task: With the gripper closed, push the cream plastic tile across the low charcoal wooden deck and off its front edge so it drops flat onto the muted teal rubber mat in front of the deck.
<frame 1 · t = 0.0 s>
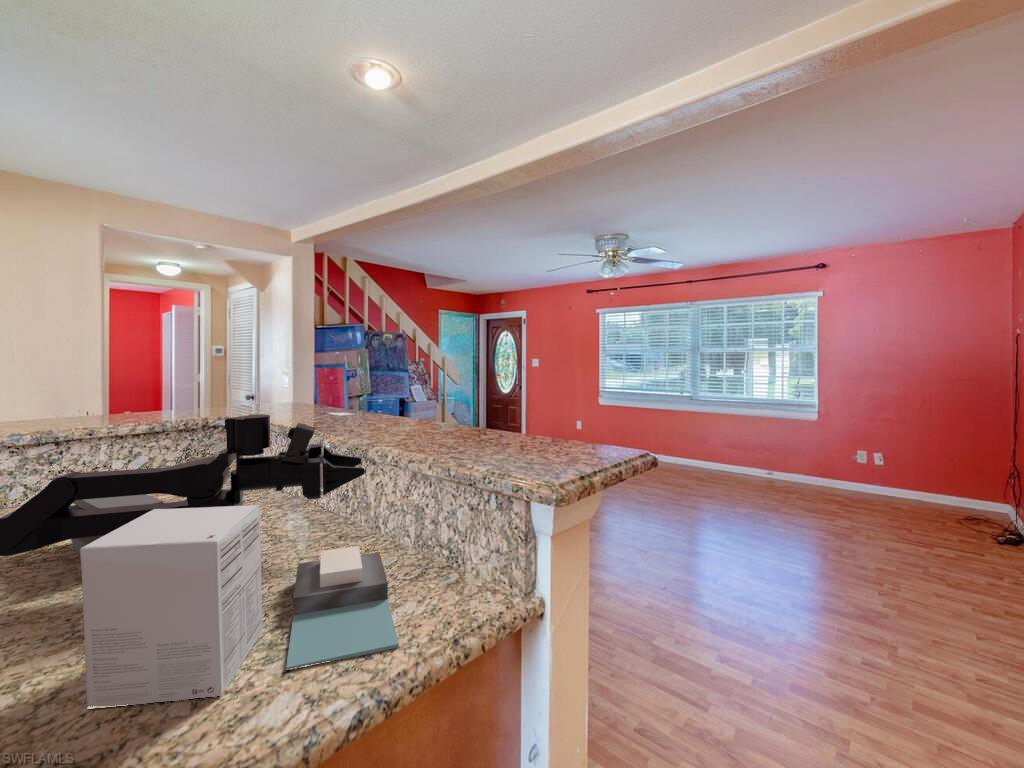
hand: (362, 465, 89), 17 cm above the worktop, tool horizontal, fingers open, 9 cm apart
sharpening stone: (112, 552, 89), on the worktop, touching arm
deck: (341, 591, 74), on the worktop
tile: (340, 565, 74), point 4 cm above the worktop, touching deck
supplement box 2: (186, 667, 56), on the worktop
mat: (343, 632, 63), on the worktop
supplement box: (199, 522, 105), on the worktop
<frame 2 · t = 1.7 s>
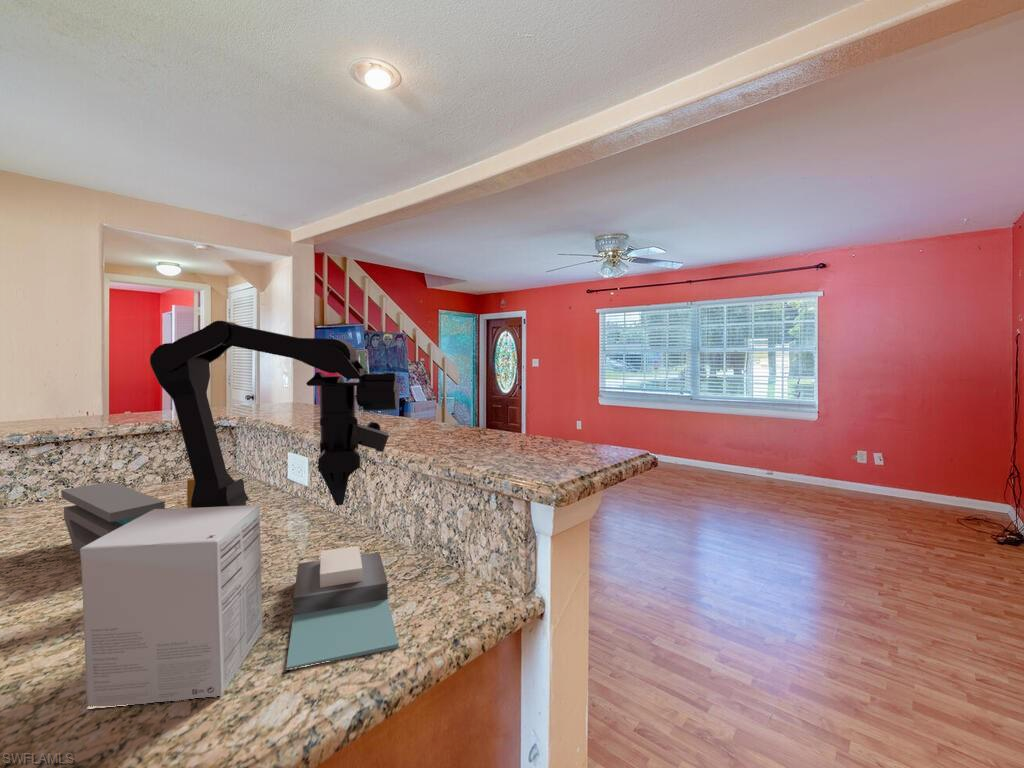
hand: (339, 499, 82), 12 cm above the worktop, tool pointing down, fingers open, 6 cm apart
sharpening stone: (112, 553, 89), on the worktop
everything else where it was.
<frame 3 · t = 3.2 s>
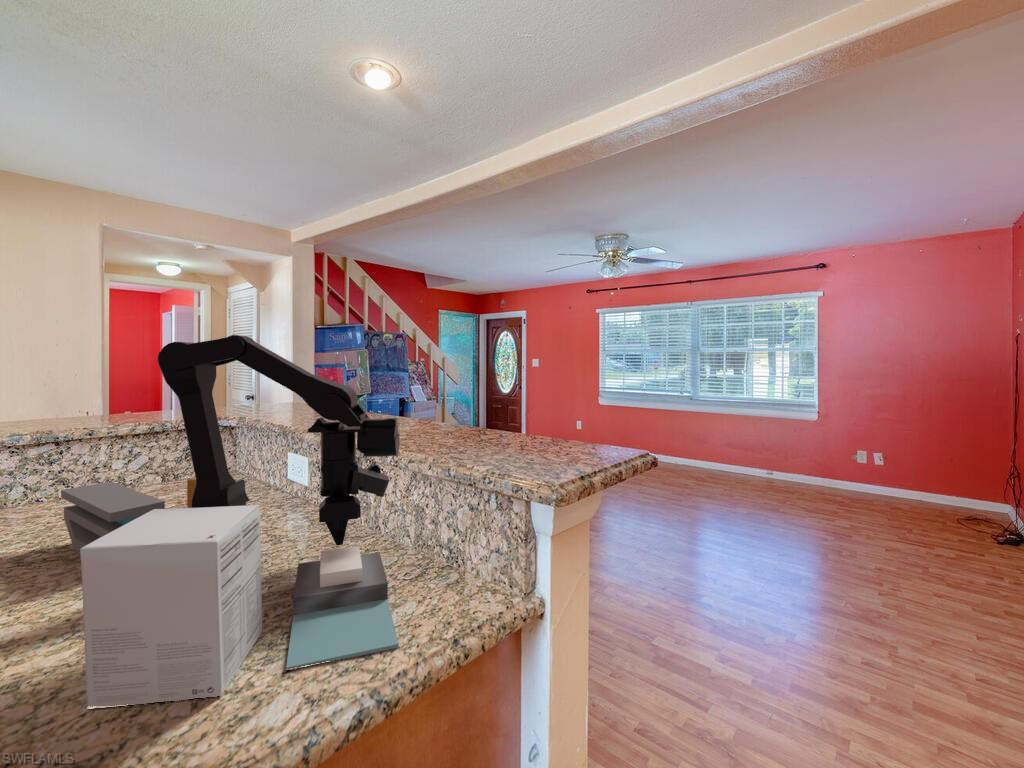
hand: (339, 544, 83), 4 cm above the worktop, tool pointing down, fingers closed
nothing on the worktop moved.
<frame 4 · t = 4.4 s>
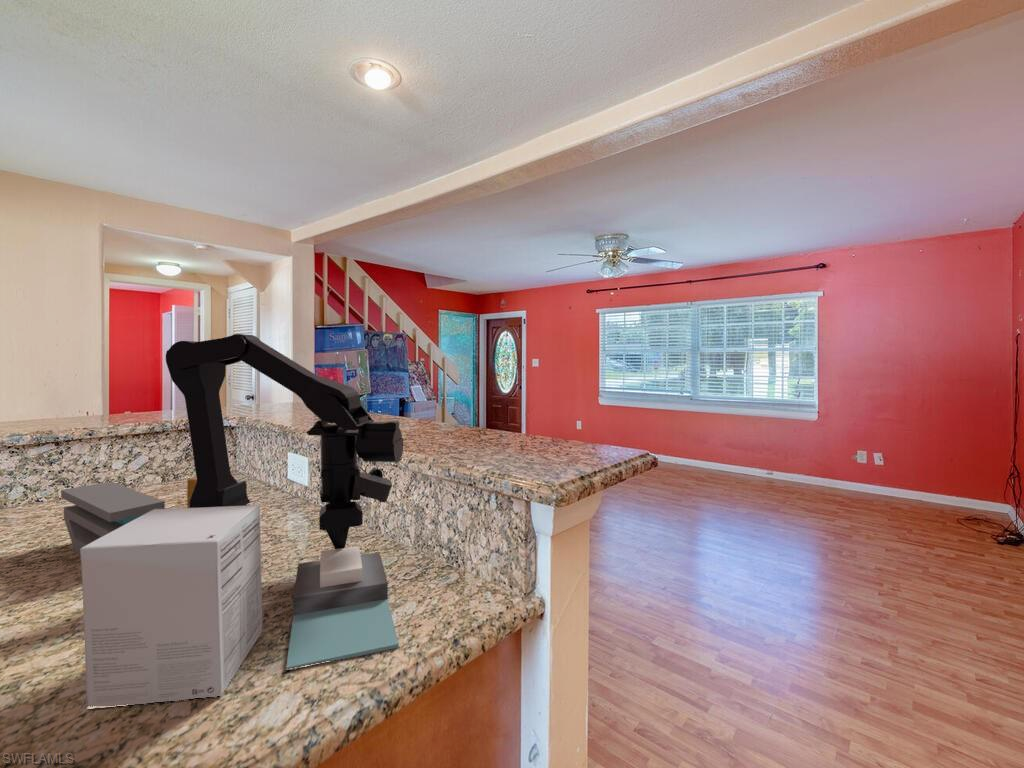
hand: (340, 552, 79), 4 cm above the worktop, tool pointing down, fingers closed
tile: (340, 565, 74), point 4 cm above the worktop, touching deck, gripper
everything else where it was.
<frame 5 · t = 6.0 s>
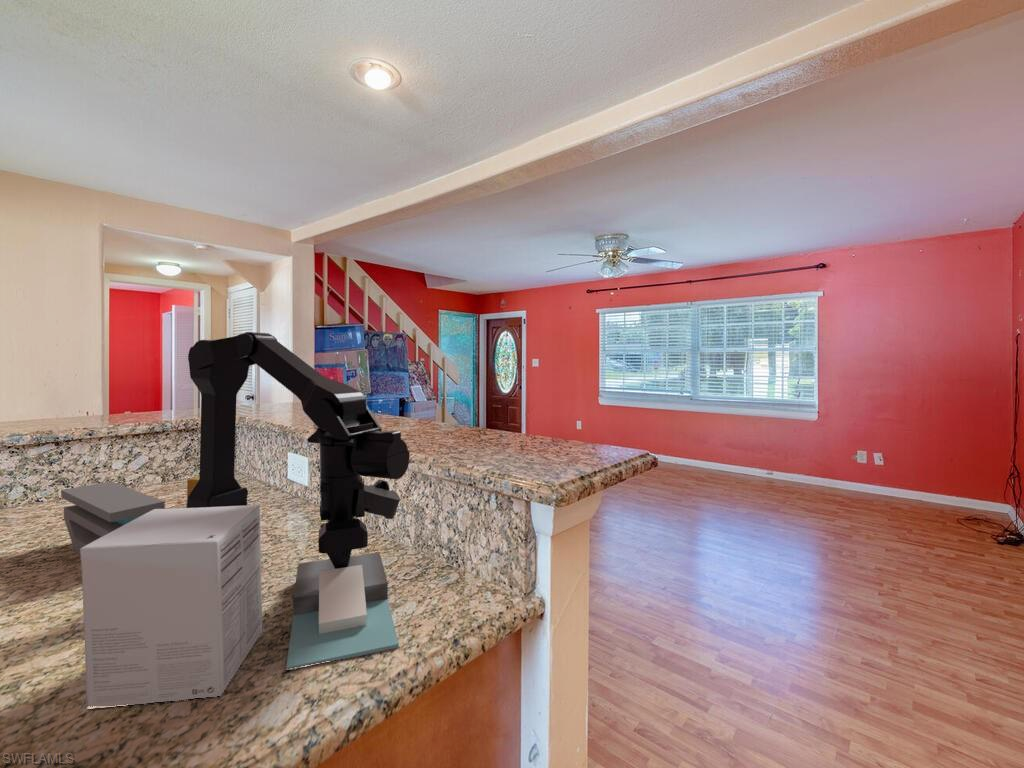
hand: (342, 574, 71), 4 cm above the worktop, tool pointing down, fingers closed
tile: (342, 597, 66), point 3 cm above the worktop, tilted 22°
everything else where it was.
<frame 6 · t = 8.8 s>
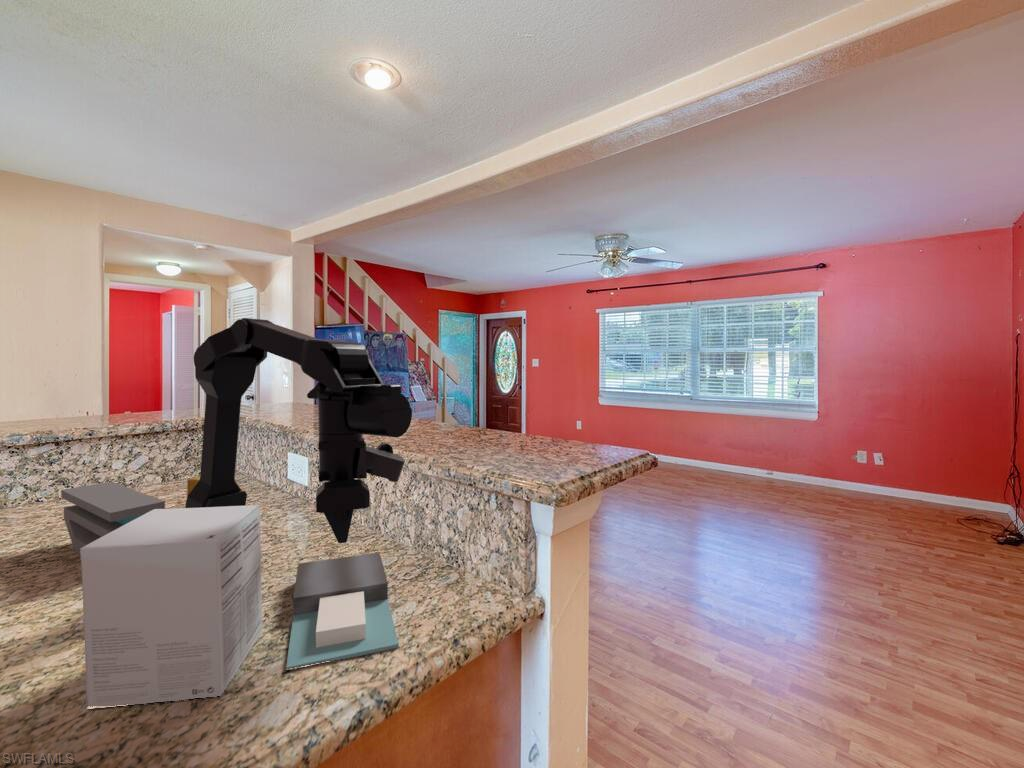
hand: (342, 542, 66), 11 cm above the worktop, tool pointing down, fingers closed
tile: (341, 617, 64), point 1 cm above the worktop, touching mat
everything else where it was.
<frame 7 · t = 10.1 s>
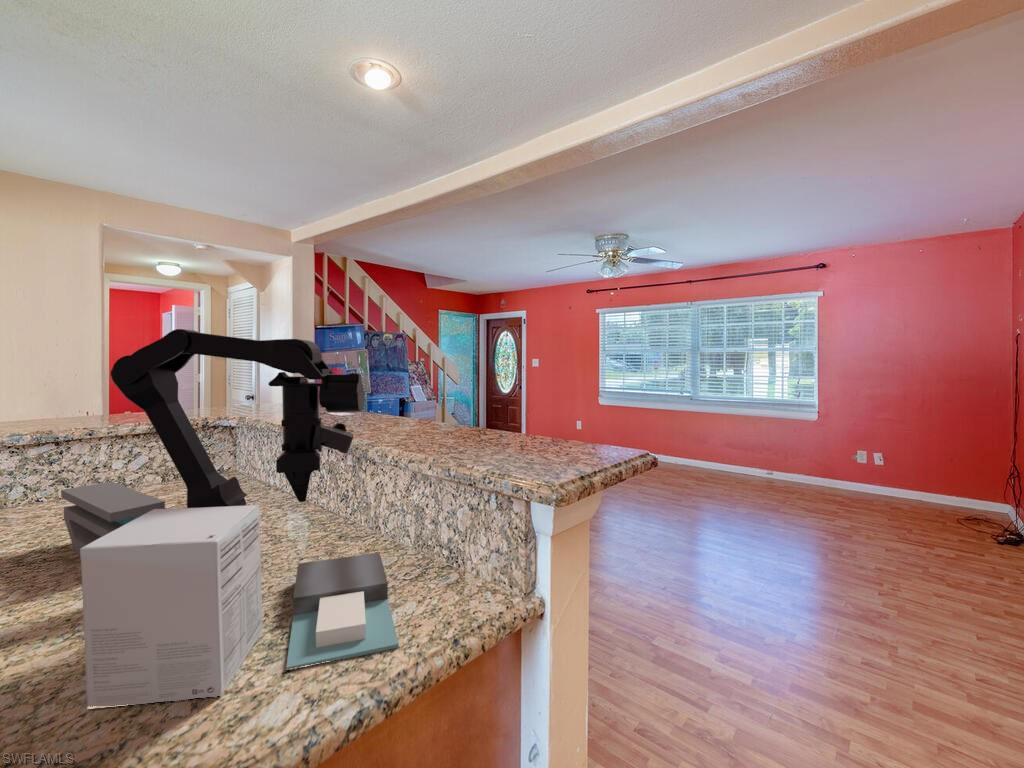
hand: (302, 501, 81), 12 cm above the worktop, tool pointing down, fingers closed
nothing on the worktop moved.
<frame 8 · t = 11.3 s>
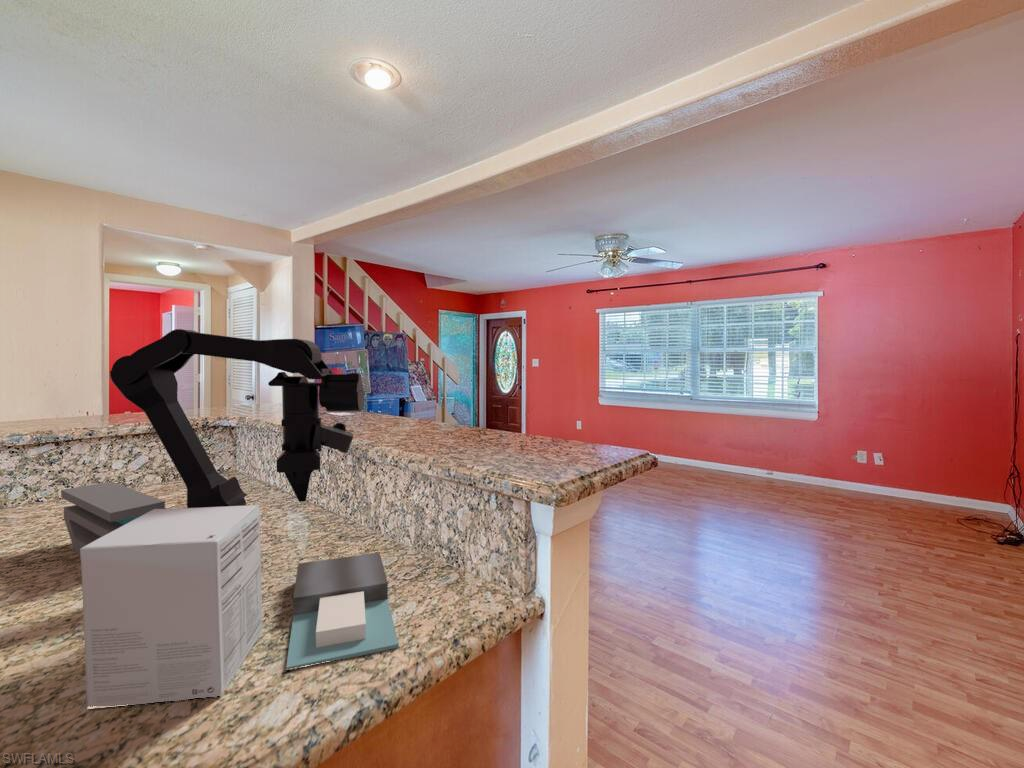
hand: (302, 501, 82), 12 cm above the worktop, tool pointing down, fingers closed
nothing on the worktop moved.
at the end: tile inside the target area (3.5 cm from its centre), point 1.5 cm above the worktop; tile touching mat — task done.
